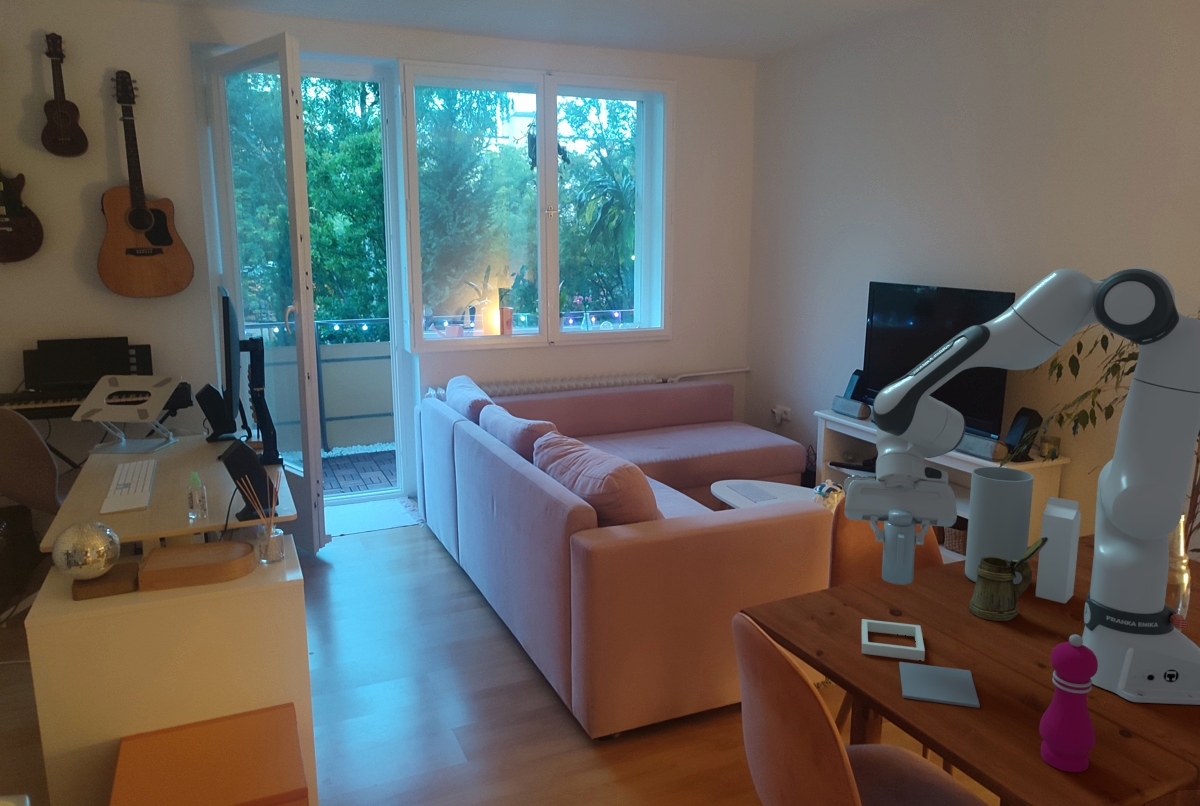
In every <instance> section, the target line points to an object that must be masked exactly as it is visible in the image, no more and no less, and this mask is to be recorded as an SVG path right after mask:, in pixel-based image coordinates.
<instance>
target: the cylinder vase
mask: <svg viewBox="0 0 1200 806" xmlns="http://www.w3.org/2000/svg"><path fill="white" fill-rule="evenodd" d="M1034 477H1035V476H1034V475H1033V474H1032V473H1029V472H1027V471H1024V470H1020V469H1018V468H1011V467H1003V466H981V467H976V468H973V469H972V470H971V480H970V482H971V483H970V496H969V506H968V507H969V508H968V509H969V510H968V522H967V533H966V535H967V537H966V548H965V549H966V551H965V552H966V553H965V564H964V575H965V576H966V577H967V578H968V579H969V580H970V581H972V582H974V583H976V579H977V575H978V573H977V567H978V565H979V564H980V561H981V558H983V557H998V558H1003V559H1006V560H1008V561H1009V562H1011V560H1020V559H1021V557H1022V556H1023V555H1024V553H1025V552H1026V551H1027V550H1028V549H1029V548H1028V547H1029V535H1030V534H1029V533H1030V525H1031V514H1032V513H1031V511H1032V499H1033V492H1034V490H1033V488H1034V479H1035V478H1034ZM1015 574H1016V578H1014V579H1013V583H1014V584H1019V583H1020V582H1021V581H1022V576H1021V574H1020V573H1019V572H1015Z"/></svg>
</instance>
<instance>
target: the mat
mask: <svg viewBox="0 0 1200 806" xmlns="http://www.w3.org/2000/svg"><path fill="white" fill-rule="evenodd" d="M898 665H899V674H900V684H901V691H902V698H903V699H909V700H915V701H916V700H917V701H924V702H932V703H938V704H939V703H940V704H947V705H954V706H963V707H969V708H977V709H980V707H981V706H980V701H979V698H978V694H977V690H976V687H975V683H974V679H973V677H972V671H971V669H970V670H969V669H961V668H953V667H944V666H938V665H937V666H935V665H927V664H922V663H921V664H919V663H913V662H912V663H911V662H906V661H905V662H904V661H899V662H898Z"/></svg>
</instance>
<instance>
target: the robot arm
mask: <svg viewBox="0 0 1200 806" xmlns="http://www.w3.org/2000/svg"><path fill="white" fill-rule="evenodd" d="M1094 324H1100V325H1101V326H1103V327H1104V328H1105V329H1106V330H1108V331H1110V332H1111V333H1113V334H1114V335H1117V336H1120V337H1122V338H1124V339H1126V340H1128V341H1130V342H1132V343H1134V344H1137V345H1138V356H1137V362H1136V364H1135V368H1134V371H1133V375H1132V378H1131V381H1130V385H1129V389H1128V392H1127V396H1126V400H1125V403H1124V406H1123V409H1122V411H1121V412H1122V413H1121V417H1120V420H1119V425H1118V432H1117V437H1116V443H1115V447H1114V450H1113V451H1114V452H1113V456H1112V457H1113V458H1112V459H1110V460H1109V461H1108V462H1107V463H1106V464H1105V465H1104V466H1103V468H1102V469H1101V470H1100V472H1099V475H1098V479H1097V490H1096V507H1095V521H1094V522H1095V523H1094V524H1095V525H1094V547H1093V560H1092V569H1091V578H1090V589H1089V591H1088V592H1087V593H1086V601H1085V603H1084V608H1083V609H1084V611H1083V621H1084V629H1083V633H1082V636H1081V637H1082V639H1083V644H1082V645H1084V646H1086V647H1088V648H1089V649H1090V650H1091V651H1093V653H1094V654H1095V656H1096V658H1097V661H1098V669H1097V672H1096V674H1095V675H1094V676H1093V677H1091V680H1092V684H1091V685H1094V686H1096V687H1099V688H1102V689H1104V690H1108V691H1109V692H1112V693H1114V694H1117V696H1119V697H1121V698H1123V699H1125V700H1127V701H1130V702H1133V703H1142V704H1143V703H1144V704H1145V703H1147V704H1148V703H1149V704H1169V705H1170V704H1171V705H1174V704H1175V705H1194V706H1195V705H1198V706H1199V705H1200V647H1199V646H1198V645H1197V644H1196V643H1195V642H1194V641H1192V640H1191V639H1190V638H1189V637H1187V636H1186V635H1185V634H1183V633H1182V631H1180V630H1184V629H1185V628H1187V627H1188V626H1187V625H1188V621H1187V620H1186V619H1185V618H1184V616H1183V615H1181V614H1178V613H1177V612H1176V610H1174V609H1173V607H1170V606H1169V605H1168V604H1167V603H1166V602H1165V601H1166V595H1167V586H1168V579H1169V578H1168V576H1169V570H1170V569H1169V568H1170V553H1169V549H1170V546H1169V545H1170V543H1169V542H1170V534H1171V533H1172V532H1173V531H1174V530H1175V529H1177V527H1178V526H1179V524H1180V522H1181V519H1182V516H1183V511H1184V505H1185V501H1186V496H1187V492H1188V488H1189V483H1190V479H1191V474H1192V469H1193V463H1194V462H1193V461H1194V458H1195V450H1196V446H1197V440H1198V436H1199V433H1200V319H1199V318H1194V317H1189V316H1185V315H1182V314H1181V313H1180V312H1179V311H1178V309H1177V306H1176V297H1175V291H1174V288H1173V286H1172V284H1171V283H1170V281H1169V280H1168V279H1167V278H1166V276H1164V275H1163V274H1161V273H1160V272H1158V271H1157V270H1154V269H1150V268H1145V267H1131V268H1126V269H1122V270H1120V271H1116V272H1114V273H1112V274H1111V275H1109V276H1107V277H1106V278H1104V279H1101V280H1094V279H1093V278H1090V277H1089V276H1087V274H1085V273H1083V272H1081V271H1079V270H1075V269H1073V268H1066V267H1065V268H1058V269H1056V270H1053V271H1051V272H1050V273H1049V274H1047V275H1046V276H1045V277H1043V278H1042V279H1040V280H1039V281H1037V282H1036V283H1035V284H1034V285H1032V286H1031V287H1030V288H1029V289H1028V290H1027V291H1025V292H1024V293H1023V294H1022V295H1021V296H1019V298H1017V299H1016V300H1015V301H1014V302H1013V304H1011V305H1010V307H1008V308H1007V309H1006V310H1005V311H1004V312H1002V313H1000V314H998V316H996V317H995V318H993V319H990V320H989V321H987V322H985V323H982V324H977V325H971V326H969V327H967V328H965V329H964V330H962V331H960V332H959V333H957V334H956V335H955V336H953V337H952V338H951V339H949V340H948V341H946V343H944V344H942V345H941V346H940V347H939V348H938V349H936V350H935V351H934V352H933V353H931V354H929V356H928V357H926V358H925V359H923V361H921V362H920V363H919V364H917V365H916V366H914V368H912V369H911V370H909V371H908V372H907V373H906V374H905V375H903V376H901V377H900V378H897V379H896V380H894V381H892V382H890V383H888V384H887V385H885V386H884V387H883V388H882V389H880V390H879V391H878V392H877V394H876V396H875V397H874V400H873V403H872V415H873V419H874V422H875V425H876V426H877V427H876V437H875V439H876V440H875V441H876V442H875V445H876V446H875V447H876V450H877V458H876V460H875V475H860V474H853V475H852V476H848V477H847V478H845V479H844V481H843V491H844V493H845V494H846V495H845V501H844V502H845V503H844V516H845V517H846V518H847V519H848V520H852V521H853V520H854V521H863V522H864V521H866V522H869V527H870V528H871V529H872V531H873V533H874V534H875V542H881V543H882V542H884V529H880V528H879V526H878V524H879V523H878V522H880V523H884V521H885V520H887V519H888V518H889V511H890V510H895V509H899V510H906V511H910V512H912V513H913V516H912V521H913V522H915V523H916V525H919V526H920V529H921V531H920V532H916V535H915V545H917V546H918V545H921V546H924V544H925V536H926V534H927V533H928V532H929V530H930V526H934V527H947V528H949V527H950V528H951V527H953V526H954V525H955V523H956V522H957V517H958V509H957V502H956V496H955V493H954V490H953V488H952V487H951V486H950V485H949V473H948V472H947V471H945V470H943V469H940V468H937V467H934V466H932V465H928V464H925V463H924V460H925V459H932V458H937V457H939V456H942V455H946V454H948V453H951V452H952V451H954V450H955V449H957V448H958V447H959V446H960V444H961V443H962V442H963V439H964V437H965V433H966V421H965V417H964V415H963V414H962V413H961V412H960V411H958V410H957V409H955V408H954V407H951V406H950V405H948V404H947V403H944V402H943V401H940V400H938V399H937V398H934V397H932V396H931V394H932V393H934V392H935V391H936V390H938V389H939V388H941V387H942V386H943V385H944V384H946V383H947V382H948V381H949V380H951V379H953V377H955V376H956V375H958V374H959V373H961V372H962V371H964V370H967V369H972V368H977V367H979V368H980V367H988V368H990V367H991V368H998V369H999V368H1000V369H1004V370H1011V371H1025V370H1030V369H1031V370H1032V369H1033V368H1036V367H1038V366H1040V365H1042V364H1043V363H1046V362H1047V360H1049V359H1050V358H1052V357H1053V356H1054V355H1055V354H1056V353H1057V352H1058V351H1059V350H1060V349H1061V348H1062V347H1064V345H1065V344H1066V343H1067V342H1068V341H1069V340H1070V339H1072V338H1073V336H1075V335H1076V334H1077V333H1078V332H1080V331H1081V330H1082V329H1084V328H1085V327H1087V326H1090V325H1094Z"/></svg>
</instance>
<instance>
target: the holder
mask: <svg viewBox="0 0 1200 806" xmlns="http://www.w3.org/2000/svg"><path fill="white" fill-rule="evenodd" d="M921 627H922V626H921V625H919V624H909V623H902V622H891V621H882V620H874V619H866V618H865V619H864V618H862V619H861V654H863V655H872V656H877V657H878V656H880V657H888V658H895V659H896V658H897V659H902V660H903V659H904V660H913V661H919V660H921V662H925V653H926V650H925V644H924V640H923V631H922V628H921ZM868 632H871V633H872V632H873V633H880V634H888V635H889V634H890V635H897V634H898V635H897V636H905V635H906V636H905V637H907V636H908V637H914V640H915V641H916V642H915V647H914V646H905V645H896V644H889V643H882V642H881V643H880V642H871V641H869V638H868V637H869V635H868Z"/></svg>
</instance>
